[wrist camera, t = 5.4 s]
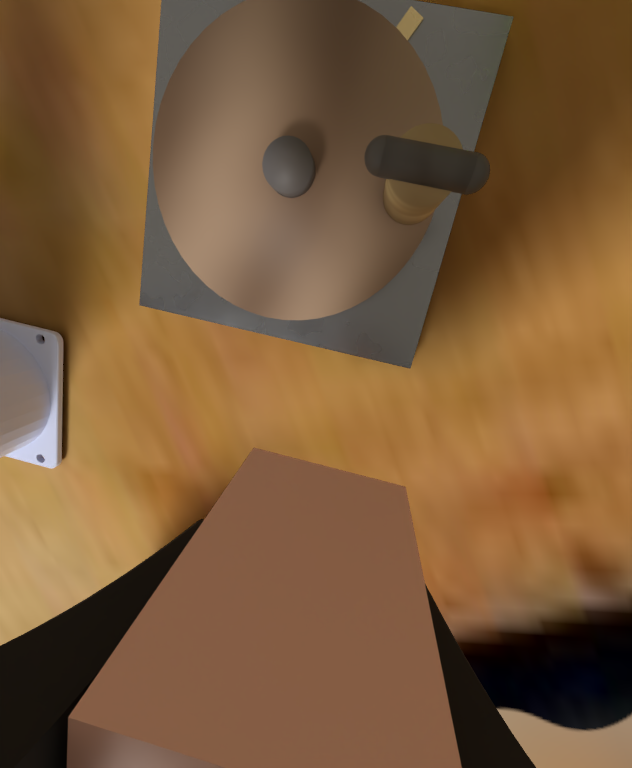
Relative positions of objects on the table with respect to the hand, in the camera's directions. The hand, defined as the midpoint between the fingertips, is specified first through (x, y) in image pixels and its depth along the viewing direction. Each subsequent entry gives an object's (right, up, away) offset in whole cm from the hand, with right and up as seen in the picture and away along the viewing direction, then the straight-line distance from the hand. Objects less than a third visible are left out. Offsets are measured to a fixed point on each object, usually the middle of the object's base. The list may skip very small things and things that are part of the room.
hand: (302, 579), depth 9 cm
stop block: (0, 0, +2) cm, 2 cm away
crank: (0, +13, +5) cm, 14 cm away
